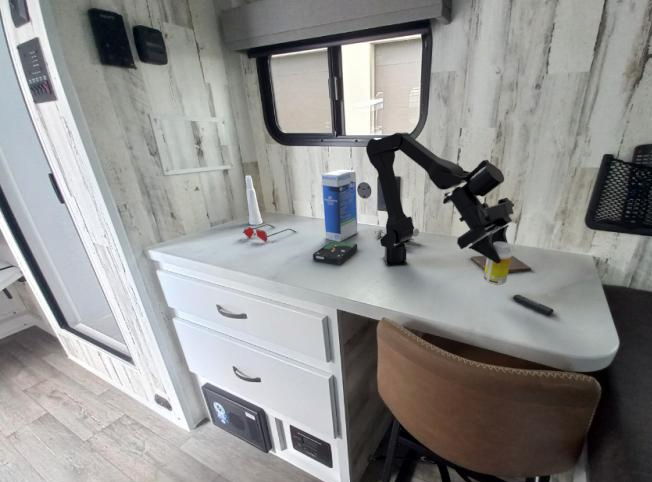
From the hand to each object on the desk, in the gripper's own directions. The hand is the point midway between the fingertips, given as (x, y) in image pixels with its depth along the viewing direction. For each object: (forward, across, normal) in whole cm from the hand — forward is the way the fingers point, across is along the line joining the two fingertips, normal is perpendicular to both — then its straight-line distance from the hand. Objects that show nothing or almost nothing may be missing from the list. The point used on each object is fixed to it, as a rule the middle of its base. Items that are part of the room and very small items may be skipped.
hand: (504, 259), depth 76 cm
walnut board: (+2, +22, +14) cm, 26 cm away
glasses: (-56, -15, +74) cm, 94 cm away
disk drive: (-29, -10, +46) cm, 56 cm away
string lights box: (-40, +5, +57) cm, 70 cm away
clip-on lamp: (-26, +16, +43) cm, 52 cm away
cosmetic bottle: (-71, -10, +89) cm, 114 cm away
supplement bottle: (+4, 0, +6) cm, 7 cm away
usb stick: (+14, +2, +2) cm, 14 cm away
